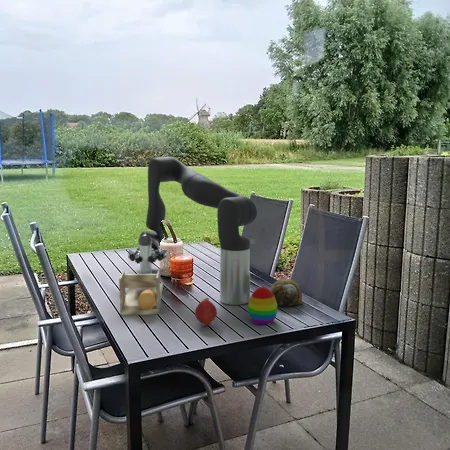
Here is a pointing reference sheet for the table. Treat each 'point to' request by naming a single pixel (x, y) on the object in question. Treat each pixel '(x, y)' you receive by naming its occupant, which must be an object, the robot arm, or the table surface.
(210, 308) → the onion
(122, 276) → the frame
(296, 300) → the seashell
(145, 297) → the rounded orange object
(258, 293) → the decorative egg
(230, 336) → the table surface
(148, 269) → the shaft
